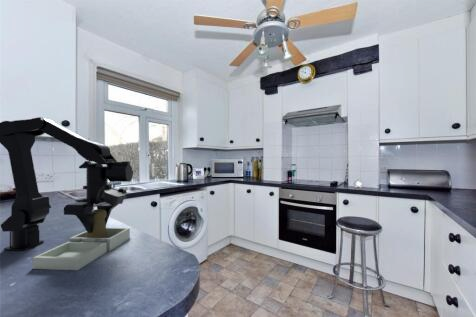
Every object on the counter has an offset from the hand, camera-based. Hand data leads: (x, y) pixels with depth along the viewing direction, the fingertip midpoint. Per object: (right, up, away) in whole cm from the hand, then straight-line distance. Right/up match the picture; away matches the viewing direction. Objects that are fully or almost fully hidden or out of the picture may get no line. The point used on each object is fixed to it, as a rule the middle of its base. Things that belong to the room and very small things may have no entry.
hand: (97, 229), depth 67 cm
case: (+1, -5, 0) cm, 5 cm away
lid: (+1, -4, -11) cm, 12 cm away
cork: (0, -5, 0) cm, 5 cm away
